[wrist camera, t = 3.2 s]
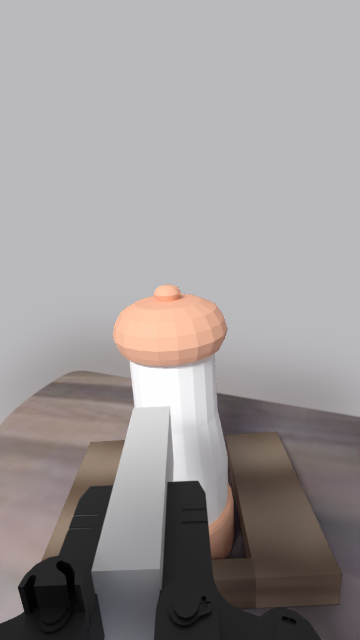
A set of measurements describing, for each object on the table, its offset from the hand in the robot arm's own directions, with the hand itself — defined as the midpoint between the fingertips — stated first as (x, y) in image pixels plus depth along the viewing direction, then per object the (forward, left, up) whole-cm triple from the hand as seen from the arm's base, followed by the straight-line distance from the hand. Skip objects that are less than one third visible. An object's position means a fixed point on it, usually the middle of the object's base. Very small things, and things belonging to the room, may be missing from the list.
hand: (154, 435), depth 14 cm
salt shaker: (+7, -2, -14) cm, 16 cm away
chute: (+9, -2, -14) cm, 17 cm away
